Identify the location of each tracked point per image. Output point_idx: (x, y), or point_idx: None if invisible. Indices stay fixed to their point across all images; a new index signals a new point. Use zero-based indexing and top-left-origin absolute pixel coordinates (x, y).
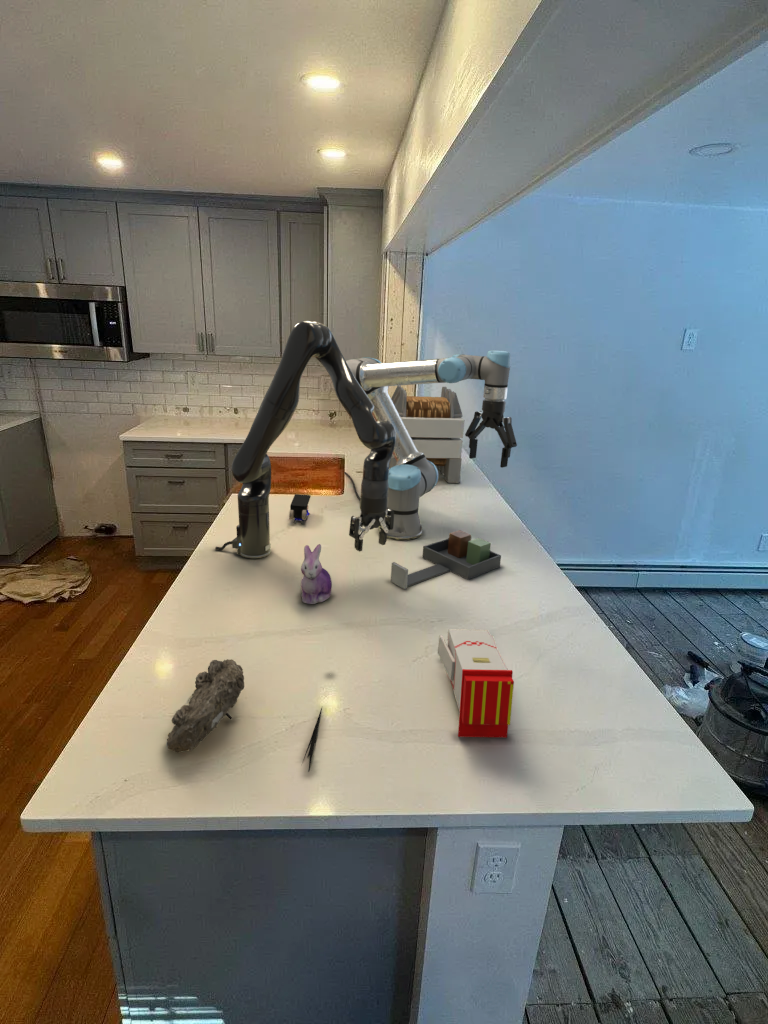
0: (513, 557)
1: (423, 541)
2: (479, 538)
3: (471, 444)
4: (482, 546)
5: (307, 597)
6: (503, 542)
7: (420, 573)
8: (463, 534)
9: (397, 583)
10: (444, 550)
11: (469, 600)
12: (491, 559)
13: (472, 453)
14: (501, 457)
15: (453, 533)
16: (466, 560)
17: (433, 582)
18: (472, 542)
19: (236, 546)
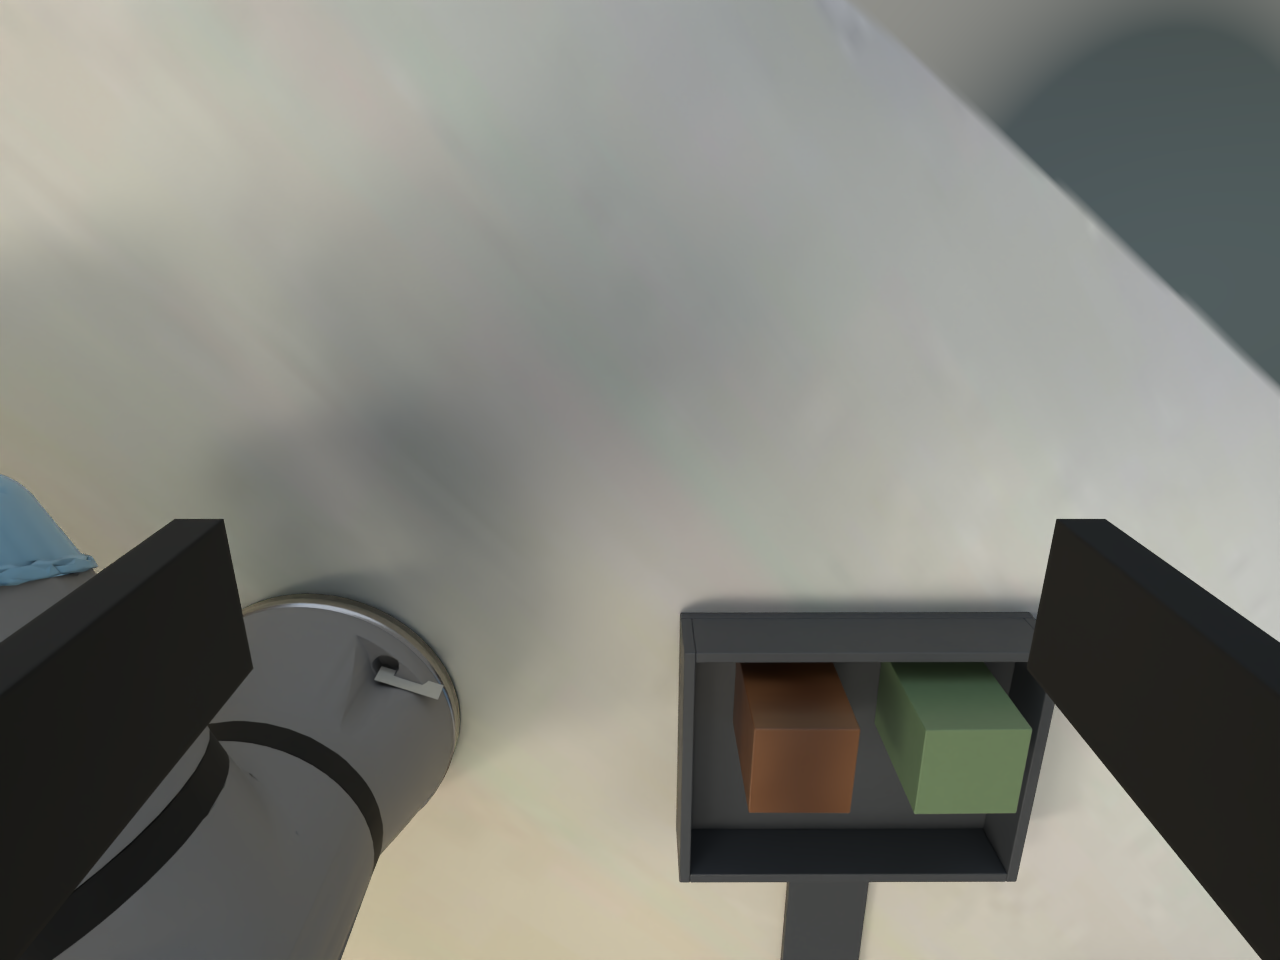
0: (1021, 444)
1: (512, 693)
2: (937, 734)
3: (11, 939)
4: (1018, 796)
5: None
6: (837, 293)
7: (808, 948)
8: (823, 764)
9: None
10: (697, 712)
11: (1098, 936)
12: (1047, 728)
13: (188, 702)
14: (1152, 817)
15: (769, 797)
16: (878, 729)
17: (891, 940)
18: (943, 807)
19: None
